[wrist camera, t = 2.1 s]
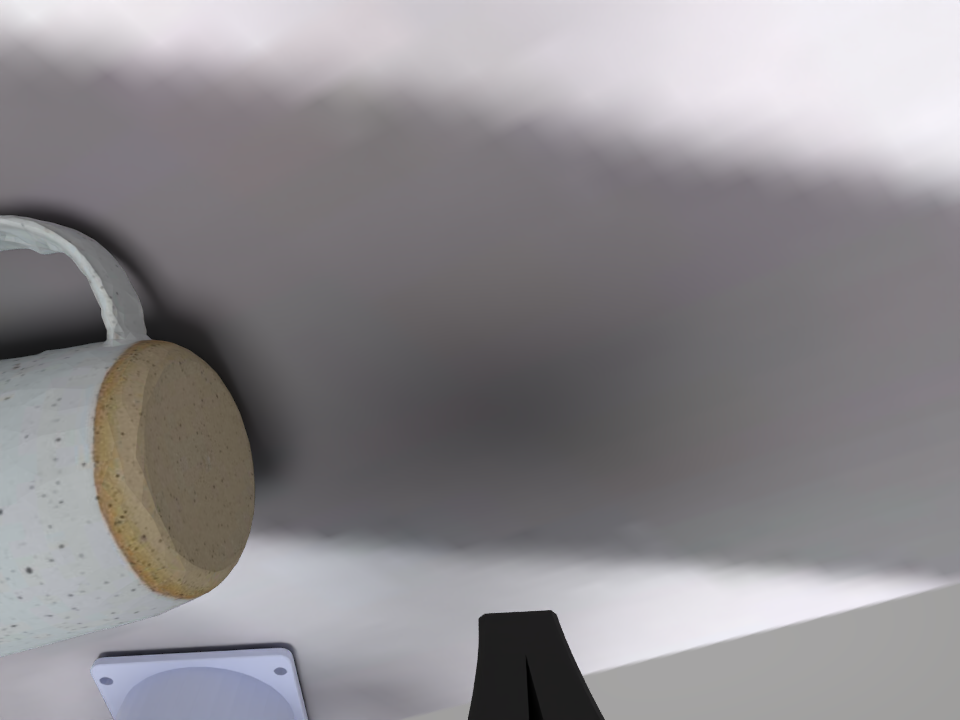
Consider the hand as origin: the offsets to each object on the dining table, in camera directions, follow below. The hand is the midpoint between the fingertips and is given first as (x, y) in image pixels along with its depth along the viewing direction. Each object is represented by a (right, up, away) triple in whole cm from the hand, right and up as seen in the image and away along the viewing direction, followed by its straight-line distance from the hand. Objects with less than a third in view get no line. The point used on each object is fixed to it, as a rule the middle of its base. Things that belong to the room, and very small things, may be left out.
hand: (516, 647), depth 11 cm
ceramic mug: (-13, +5, +8) cm, 16 cm away
